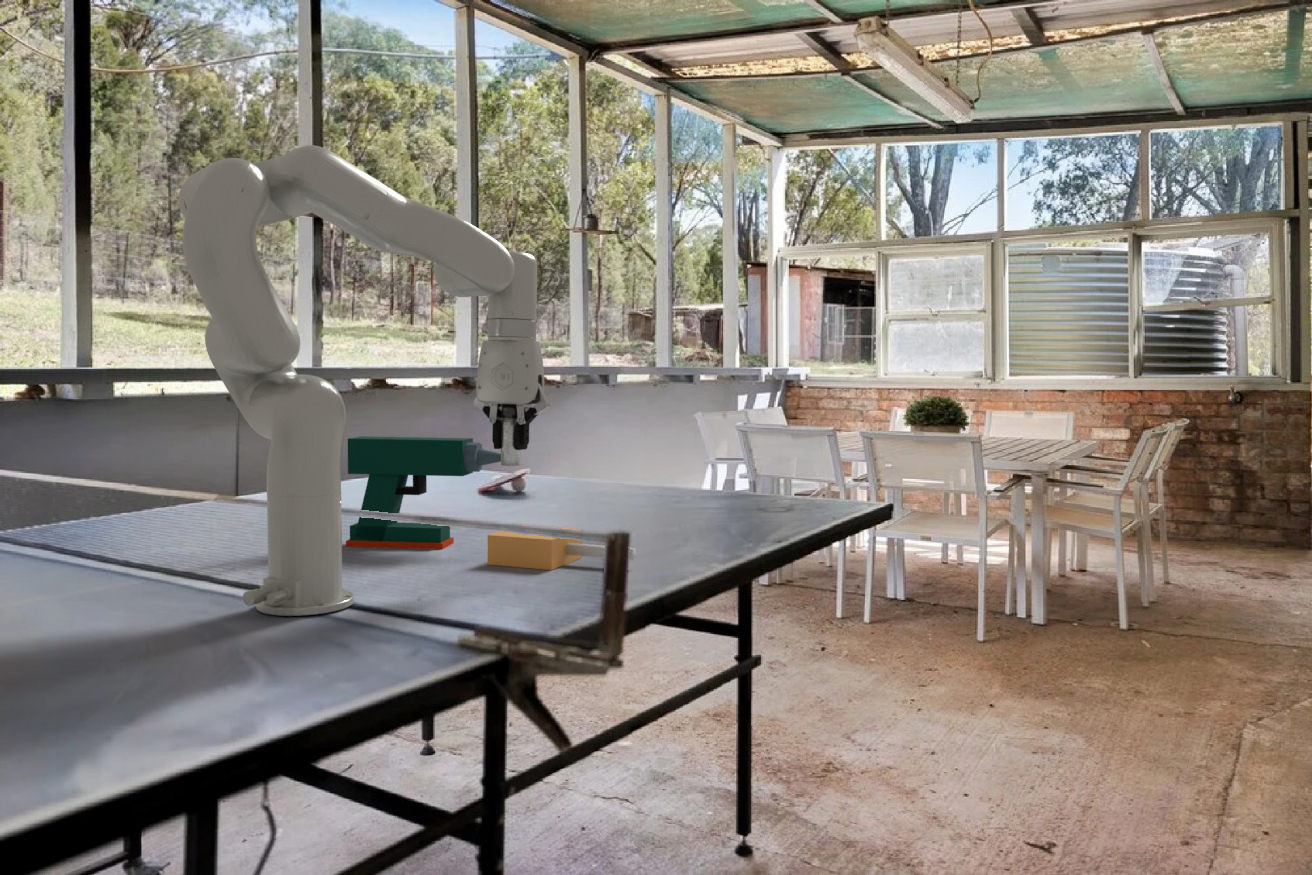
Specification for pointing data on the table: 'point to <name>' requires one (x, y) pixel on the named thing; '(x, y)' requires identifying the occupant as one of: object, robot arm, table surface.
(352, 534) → the power tool
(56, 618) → the table surface
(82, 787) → the table surface
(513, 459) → the silver capped bar
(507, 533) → the chuck block
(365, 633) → the table surface
